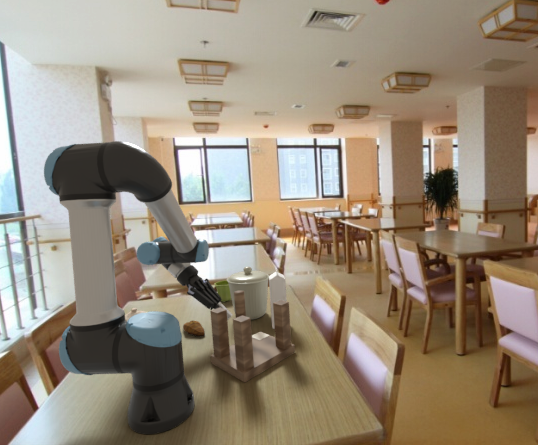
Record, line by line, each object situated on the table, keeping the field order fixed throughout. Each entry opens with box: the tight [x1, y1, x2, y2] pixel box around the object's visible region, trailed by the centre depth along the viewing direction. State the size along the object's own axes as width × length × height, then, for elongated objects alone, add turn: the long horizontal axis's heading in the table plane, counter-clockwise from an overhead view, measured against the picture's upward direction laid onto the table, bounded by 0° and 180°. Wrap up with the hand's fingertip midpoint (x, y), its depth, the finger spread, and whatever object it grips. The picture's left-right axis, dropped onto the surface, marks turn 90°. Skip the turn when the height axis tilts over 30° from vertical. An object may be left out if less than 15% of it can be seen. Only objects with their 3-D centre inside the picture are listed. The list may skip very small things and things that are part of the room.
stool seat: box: [210, 300, 296, 383], centre depth 98 cm, size 21×16×16 cm
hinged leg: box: [234, 291, 246, 318], centre depth 106 cm, size 11×4×15 cm, turn 5°
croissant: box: [182, 320, 206, 338], centre depth 120 cm, size 14×7×5 cm, turn 45°
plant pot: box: [214, 279, 232, 303], centre depth 157 cm, size 9×9×9 cm
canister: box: [226, 266, 270, 321], centre depth 133 cm, size 18×18×21 cm
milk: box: [268, 268, 288, 330], centre depth 121 cm, size 6×6×22 cm
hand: (229, 318), depth 112 cm, fingers closed
